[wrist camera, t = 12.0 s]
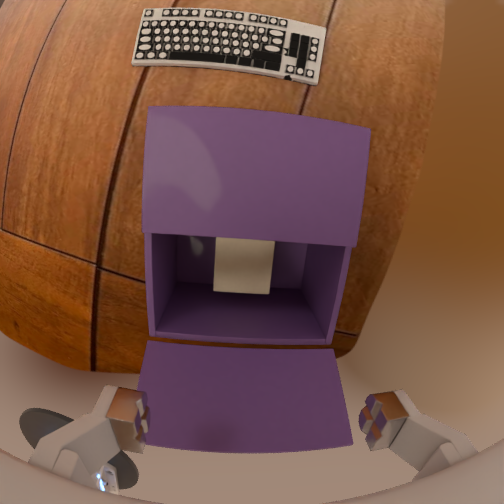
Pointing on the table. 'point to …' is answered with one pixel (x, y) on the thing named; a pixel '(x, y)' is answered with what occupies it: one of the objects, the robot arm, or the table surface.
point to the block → (243, 265)
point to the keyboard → (230, 42)
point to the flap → (243, 399)
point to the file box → (249, 220)
